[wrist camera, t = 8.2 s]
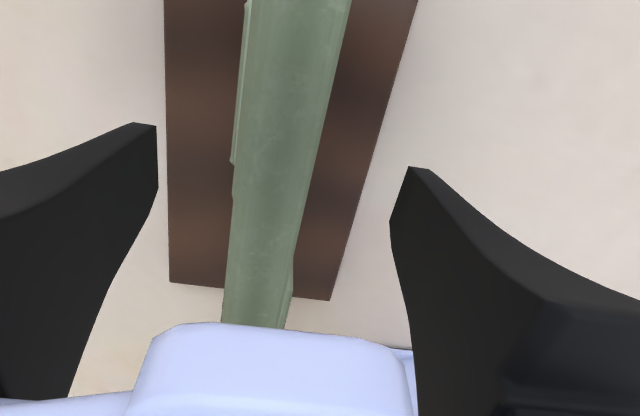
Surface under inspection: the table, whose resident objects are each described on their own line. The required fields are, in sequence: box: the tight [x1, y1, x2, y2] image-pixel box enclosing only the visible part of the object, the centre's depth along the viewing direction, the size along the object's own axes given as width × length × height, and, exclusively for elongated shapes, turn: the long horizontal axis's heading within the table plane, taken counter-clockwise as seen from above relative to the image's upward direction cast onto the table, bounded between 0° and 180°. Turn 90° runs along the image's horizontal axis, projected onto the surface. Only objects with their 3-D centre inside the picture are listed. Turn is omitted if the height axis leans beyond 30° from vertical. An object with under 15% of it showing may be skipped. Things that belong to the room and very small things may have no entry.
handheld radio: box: [221, 0, 352, 329], centre depth 16 cm, size 7×3×25 cm
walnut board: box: [164, 0, 418, 301], centre depth 19 cm, size 28×10×1 cm, turn 169°
